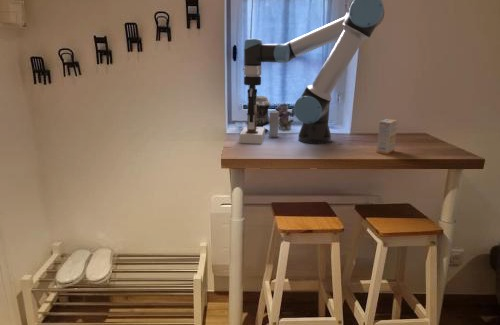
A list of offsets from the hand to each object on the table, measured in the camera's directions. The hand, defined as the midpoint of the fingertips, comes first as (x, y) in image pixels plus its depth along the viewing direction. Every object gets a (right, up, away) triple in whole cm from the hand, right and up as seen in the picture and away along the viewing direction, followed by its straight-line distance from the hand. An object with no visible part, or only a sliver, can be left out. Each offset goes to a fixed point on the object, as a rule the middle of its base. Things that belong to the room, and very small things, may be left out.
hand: (251, 128), depth 168 cm
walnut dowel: (0, -3, +1) cm, 4 cm away
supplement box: (+55, -11, -16) cm, 59 cm away
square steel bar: (+11, -3, +12) cm, 16 cm away
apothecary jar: (+4, +1, +25) cm, 26 cm away
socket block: (+1, -4, +6) cm, 8 cm away
